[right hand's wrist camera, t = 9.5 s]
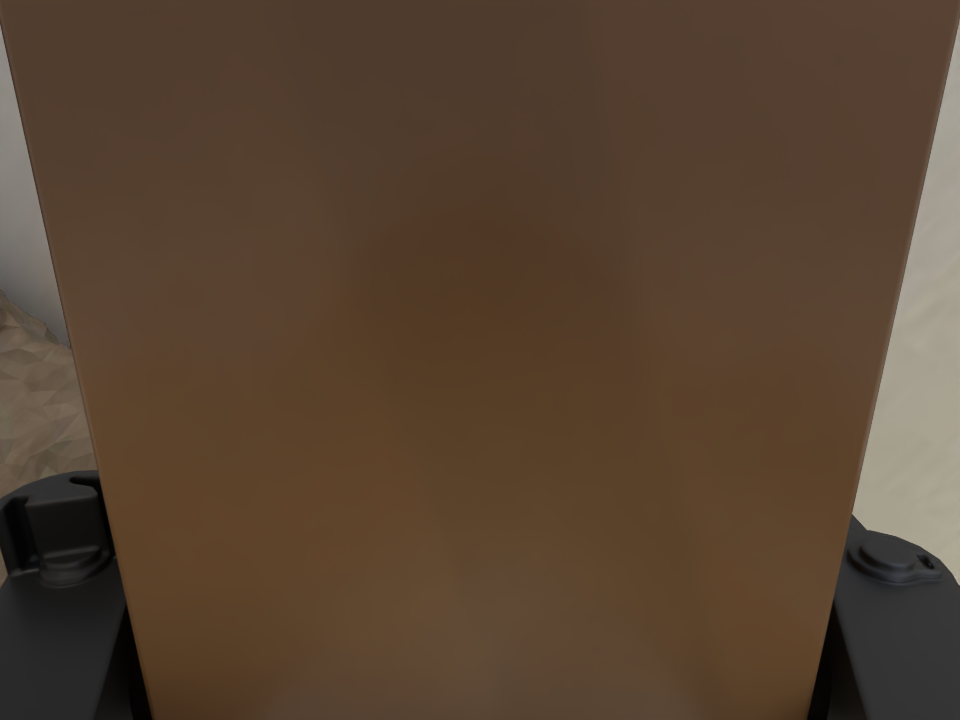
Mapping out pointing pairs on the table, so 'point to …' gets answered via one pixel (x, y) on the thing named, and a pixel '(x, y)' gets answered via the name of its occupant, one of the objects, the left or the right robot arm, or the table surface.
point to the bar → (479, 336)
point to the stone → (37, 406)
